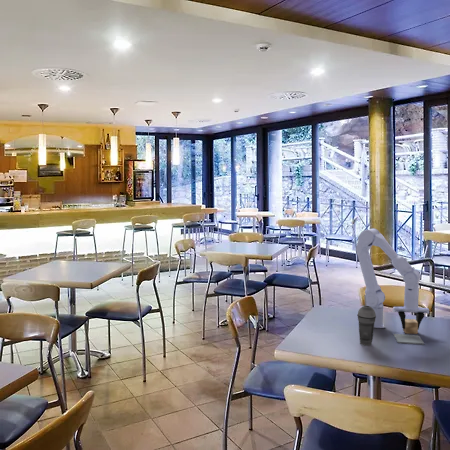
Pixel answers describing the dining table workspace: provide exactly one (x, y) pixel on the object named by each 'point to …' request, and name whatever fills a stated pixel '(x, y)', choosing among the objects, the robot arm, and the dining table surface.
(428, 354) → the dining table surface
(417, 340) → the coaster mat
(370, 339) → the beverage cup
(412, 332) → the oak cube
